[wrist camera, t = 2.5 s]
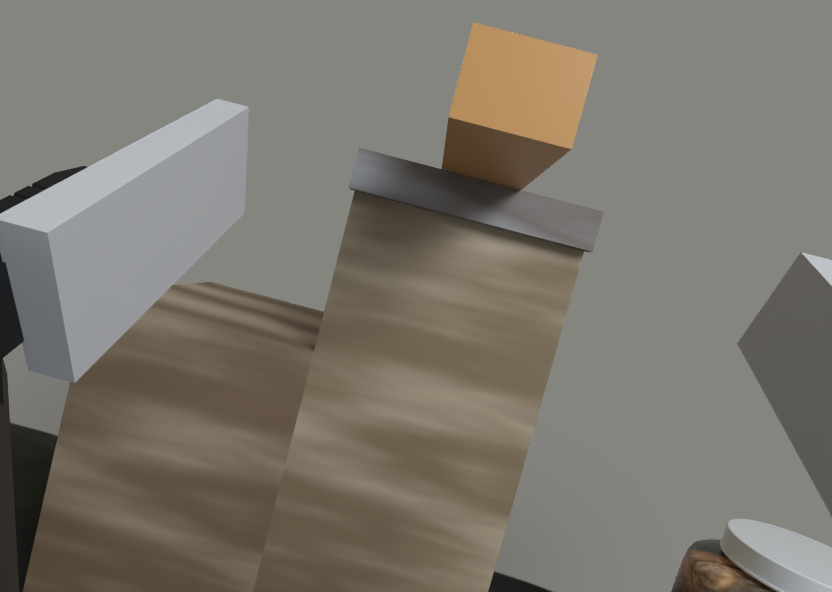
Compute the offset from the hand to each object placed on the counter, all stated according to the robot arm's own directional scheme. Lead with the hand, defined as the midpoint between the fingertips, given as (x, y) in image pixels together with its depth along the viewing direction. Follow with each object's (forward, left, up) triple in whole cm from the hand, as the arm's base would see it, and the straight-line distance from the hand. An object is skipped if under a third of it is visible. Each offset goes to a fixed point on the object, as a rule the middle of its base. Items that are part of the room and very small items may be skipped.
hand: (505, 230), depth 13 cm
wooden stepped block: (-13, +19, -27) cm, 35 cm away
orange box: (-6, +16, +3) cm, 18 cm away
